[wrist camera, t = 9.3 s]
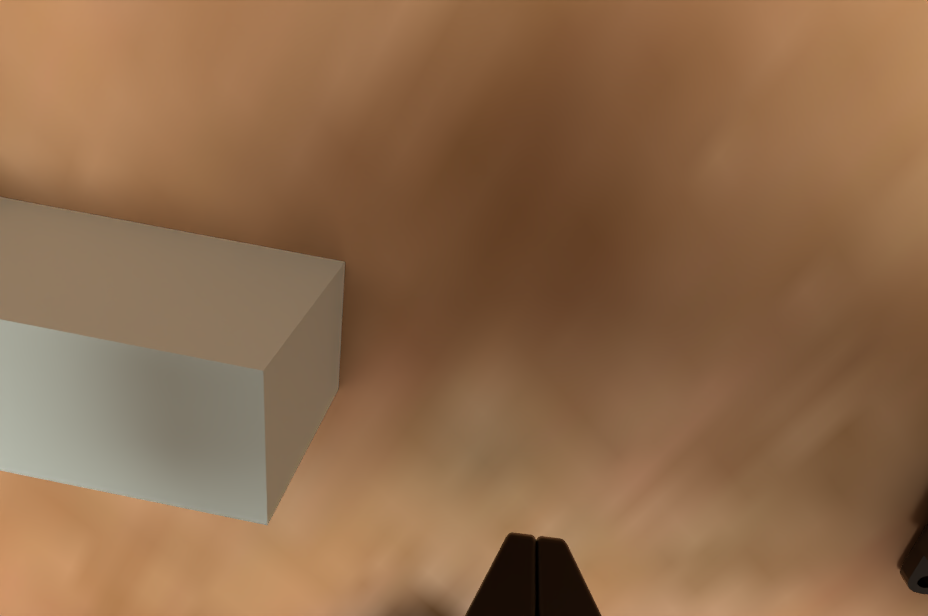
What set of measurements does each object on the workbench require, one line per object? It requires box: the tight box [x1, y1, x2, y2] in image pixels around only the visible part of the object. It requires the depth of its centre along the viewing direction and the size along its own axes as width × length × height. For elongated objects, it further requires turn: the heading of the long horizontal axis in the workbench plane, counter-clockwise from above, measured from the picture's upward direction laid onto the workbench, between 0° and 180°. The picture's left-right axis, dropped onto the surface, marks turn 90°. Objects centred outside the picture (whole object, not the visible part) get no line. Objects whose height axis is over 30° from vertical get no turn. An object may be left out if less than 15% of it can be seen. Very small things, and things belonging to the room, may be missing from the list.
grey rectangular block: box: [0, 197, 345, 525], centre depth 13 cm, size 12×4×5 cm, turn 82°
